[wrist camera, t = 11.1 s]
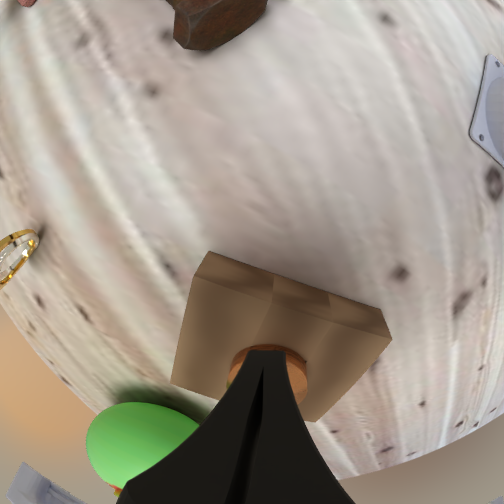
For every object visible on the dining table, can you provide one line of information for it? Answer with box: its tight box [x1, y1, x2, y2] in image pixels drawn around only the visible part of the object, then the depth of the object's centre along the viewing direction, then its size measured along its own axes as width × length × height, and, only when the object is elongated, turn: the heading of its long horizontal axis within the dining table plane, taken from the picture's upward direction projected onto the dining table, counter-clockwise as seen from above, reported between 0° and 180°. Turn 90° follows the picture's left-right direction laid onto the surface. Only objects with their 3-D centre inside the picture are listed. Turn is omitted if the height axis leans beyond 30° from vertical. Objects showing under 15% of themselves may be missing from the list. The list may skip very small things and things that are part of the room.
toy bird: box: [86, 402, 199, 497], centre depth 25 cm, size 18×17×15 cm
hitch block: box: [170, 251, 392, 422], centre depth 21 cm, size 14×12×4 cm
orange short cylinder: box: [226, 344, 307, 404], centre depth 19 cm, size 6×6×5 cm
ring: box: [0, 229, 39, 290], centre depth 18 cm, size 7×3×8 cm, turn 125°
